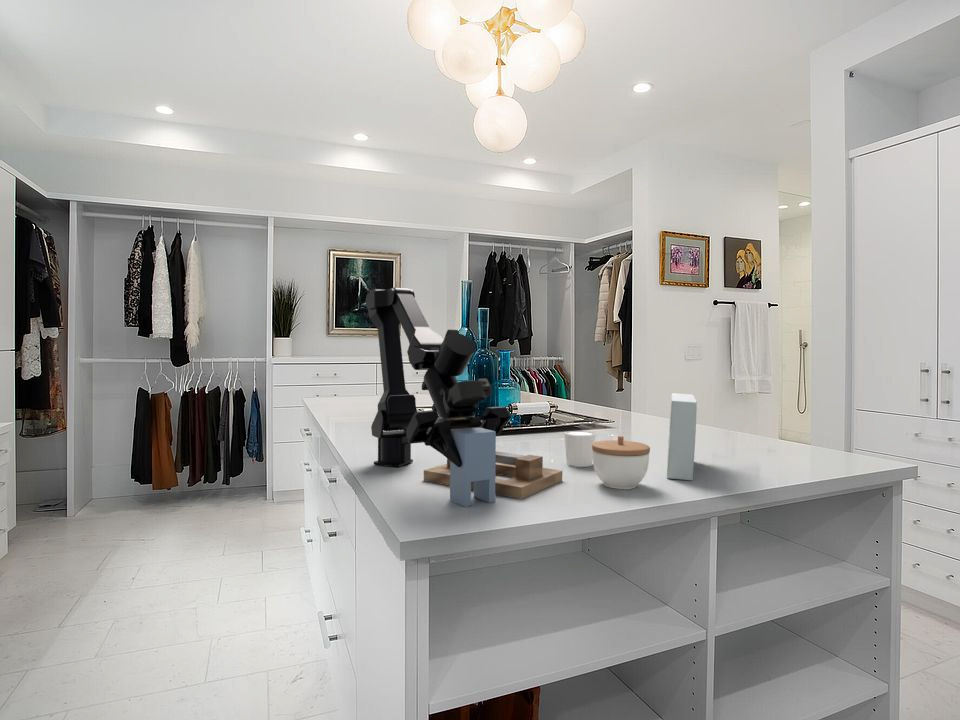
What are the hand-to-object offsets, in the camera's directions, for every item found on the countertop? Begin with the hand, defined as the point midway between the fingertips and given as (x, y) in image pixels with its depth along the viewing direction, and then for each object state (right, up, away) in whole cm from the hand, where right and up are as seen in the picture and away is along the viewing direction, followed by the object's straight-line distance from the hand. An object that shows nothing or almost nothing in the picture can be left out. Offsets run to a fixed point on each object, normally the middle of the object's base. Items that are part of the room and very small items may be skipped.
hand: (476, 463), depth 95 cm
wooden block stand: (+3, -6, +16) cm, 17 cm away
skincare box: (+44, -6, +27) cm, 52 cm away
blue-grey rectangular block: (-1, -7, +1) cm, 7 cm away
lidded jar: (+27, -7, +13) cm, 31 cm away
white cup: (+23, -6, +32) cm, 40 cm away
